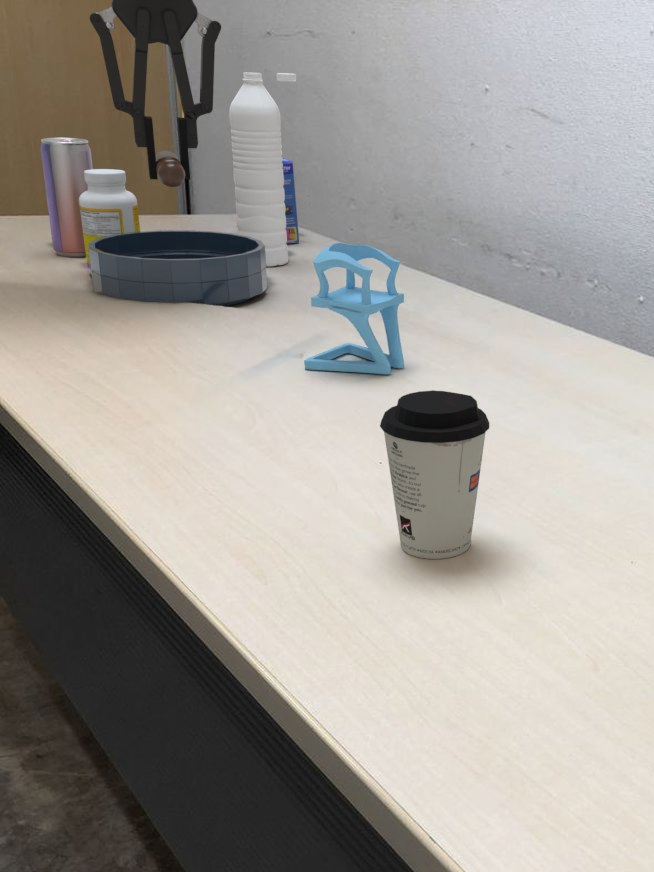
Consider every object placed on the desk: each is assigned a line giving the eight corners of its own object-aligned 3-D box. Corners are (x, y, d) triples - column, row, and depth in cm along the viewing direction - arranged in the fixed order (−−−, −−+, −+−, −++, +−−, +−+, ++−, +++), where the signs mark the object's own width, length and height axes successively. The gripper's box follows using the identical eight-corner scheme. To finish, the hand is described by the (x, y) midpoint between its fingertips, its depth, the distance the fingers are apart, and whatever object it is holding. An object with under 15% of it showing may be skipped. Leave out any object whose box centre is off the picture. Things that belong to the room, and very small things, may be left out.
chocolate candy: (156, 175, 132) (150, 151, 131) (181, 171, 133) (175, 147, 132) (162, 190, 121) (155, 164, 120) (189, 186, 122) (182, 160, 121)
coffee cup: (386, 570, 71) (383, 421, 67) (378, 525, 77) (375, 386, 73) (496, 563, 73) (498, 417, 69) (479, 520, 79) (481, 384, 75)
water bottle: (238, 267, 152) (225, 71, 143) (239, 257, 158) (226, 69, 148) (305, 267, 154) (296, 75, 145) (304, 258, 160) (295, 72, 151)
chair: (376, 381, 108) (373, 257, 103) (302, 368, 110) (296, 246, 106) (416, 362, 115) (415, 245, 110) (346, 350, 117) (342, 235, 113)
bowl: (57, 301, 128) (50, 249, 126) (157, 271, 146) (152, 225, 144) (212, 319, 125) (208, 266, 123) (295, 286, 143) (292, 239, 141)
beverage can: (43, 254, 151) (28, 139, 146) (74, 247, 157) (61, 136, 151) (82, 259, 150) (68, 143, 145) (111, 252, 156) (99, 140, 150)
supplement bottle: (123, 266, 148) (112, 166, 143) (156, 274, 145) (146, 172, 140) (76, 273, 142) (63, 169, 137) (109, 282, 139) (97, 175, 134)
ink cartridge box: (239, 234, 174) (232, 137, 169) (274, 232, 177) (268, 137, 172) (265, 245, 167) (258, 144, 162) (300, 243, 170) (295, 144, 165)
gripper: (65, -59, 112) (92, 181, 121) (232, -45, 119) (246, 183, 127) (67, -56, 118) (92, 172, 127) (225, -43, 125) (239, 174, 133)
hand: (169, 177), depth 127 cm, fingers closed on chocolate candy, 3 cm apart
